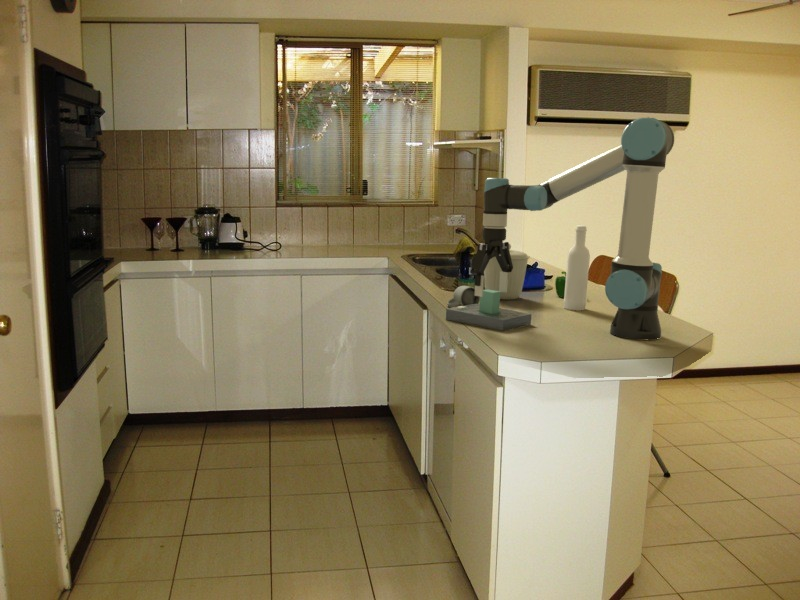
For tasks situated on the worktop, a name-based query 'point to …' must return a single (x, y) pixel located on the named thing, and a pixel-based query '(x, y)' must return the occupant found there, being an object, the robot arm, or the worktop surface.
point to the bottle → (577, 272)
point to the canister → (514, 277)
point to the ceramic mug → (464, 297)
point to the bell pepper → (560, 285)
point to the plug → (490, 302)
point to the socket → (488, 317)
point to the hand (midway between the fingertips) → (491, 294)
